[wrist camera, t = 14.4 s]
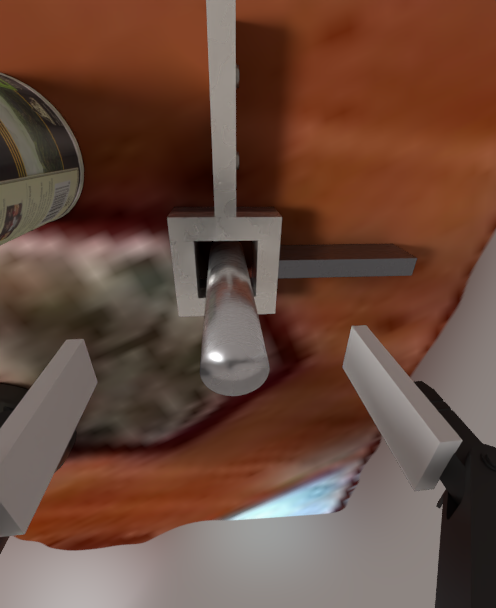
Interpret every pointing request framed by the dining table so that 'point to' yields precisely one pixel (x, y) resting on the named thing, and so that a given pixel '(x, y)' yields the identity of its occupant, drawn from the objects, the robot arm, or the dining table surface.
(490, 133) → the dining table surface
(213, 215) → the grey flat branched piece
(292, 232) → the dining table surface
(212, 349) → the pin
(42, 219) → the coffee can
